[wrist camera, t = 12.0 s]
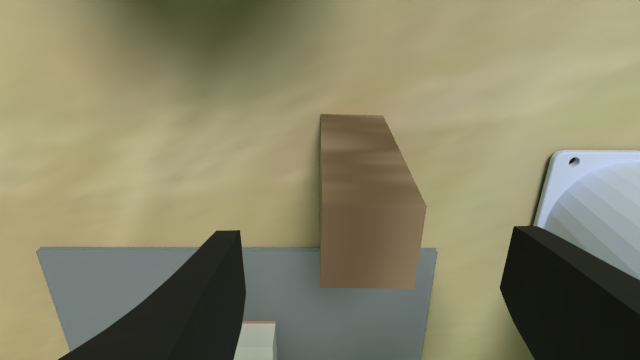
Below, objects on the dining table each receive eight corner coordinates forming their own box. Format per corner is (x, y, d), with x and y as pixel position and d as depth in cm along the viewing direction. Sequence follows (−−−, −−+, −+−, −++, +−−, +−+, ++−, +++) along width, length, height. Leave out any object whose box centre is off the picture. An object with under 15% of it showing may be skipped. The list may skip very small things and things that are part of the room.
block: (382, 115, 20) (426, 206, 12) (378, 172, 22) (414, 288, 13) (320, 114, 20) (322, 204, 12) (319, 171, 21) (320, 287, 13)
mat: (435, 248, 23) (437, 252, 23) (408, 432, 30) (409, 438, 30) (40, 247, 23) (36, 251, 23) (102, 432, 30) (100, 438, 30)
